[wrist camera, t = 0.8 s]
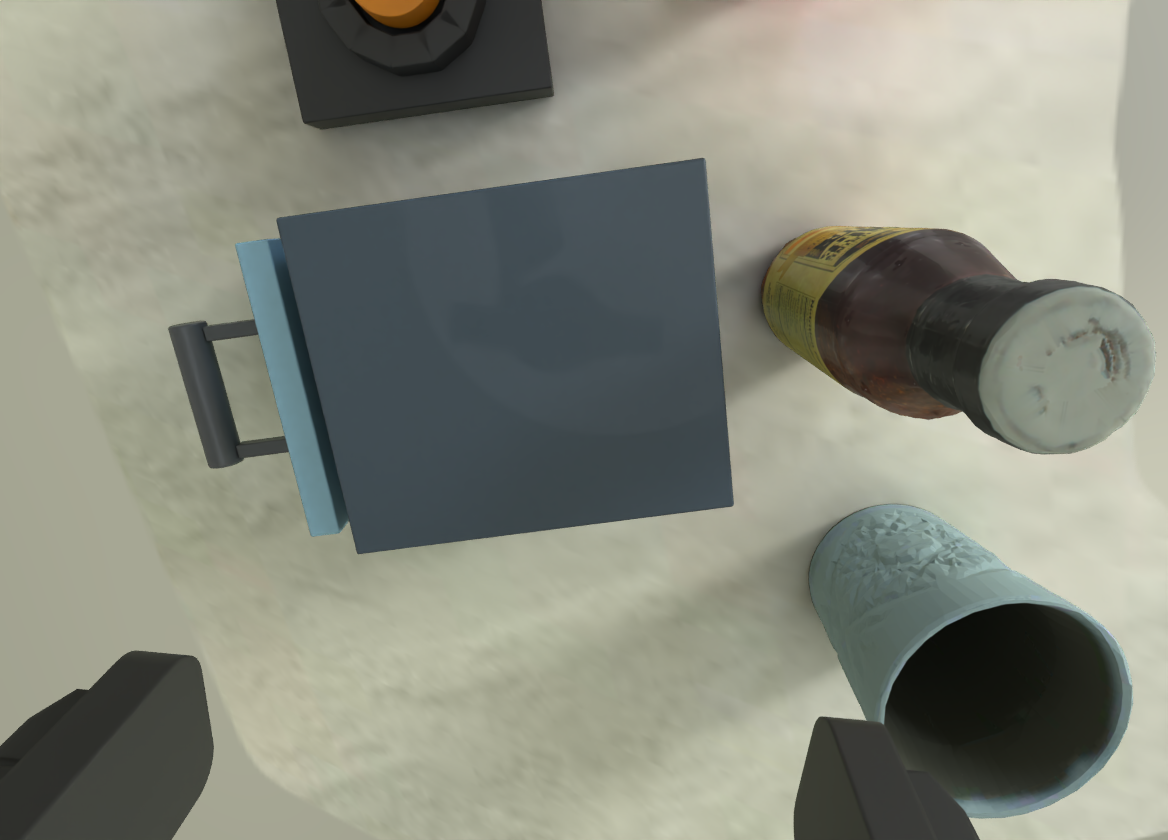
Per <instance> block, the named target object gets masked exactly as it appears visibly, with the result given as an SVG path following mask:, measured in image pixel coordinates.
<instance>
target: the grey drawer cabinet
mask: <svg viewBox="0 0 1168 840" xmlns="http://www.w3.org/2000/svg"><path fill="white" fill-rule="evenodd" d="M277 225H278V229H279V233H280V238H281V242H282V246H283V250H284V254H285V258H286V262H287V266H288V271H289V275H290V279H291V283H292V287H293V291H294V295H295V299H296V303H297V308H298V312H299V316H300V320H301V324H302V328H303V332H304V336H305V341H306V345H307V349H308V353H309V357H310V361H311V365H312V369H313V373H314V378H315V382H316V386H317V390H318V394H319V398H320V402H321V406H322V411H323V415H324V419H325V423H326V427H327V431H328V435H329V439H330V443H331V448H332V452H333V456H334V460H335V464H336V468H337V472H338V476H339V481H340V485H341V489H342V493H343V497H344V501H345V505H346V509H347V514H348V518H349V522H350V526H351V530H352V534H353V538H354V542H355V546H356V551H357V553H358V554H363V553H371V552H379V551H387V550H395V549H403V548H410V547H418V546H426V545H434V544H442V543H450V542H457V541H465V540H473V539H481V538H489V537H497V536H504V535H512V534H520V533H528V532H536V531H544V530H552V529H559V528H567V527H575V526H583V525H591V524H599V523H606V522H614V521H622V520H630V519H638V518H646V517H653V516H661V515H669V514H677V513H685V512H693V511H700V510H708V509H716V508H724V507H732V506H733V505H734V501H733V489H732V477H731V465H730V452H729V440H728V428H727V416H726V404H725V391H724V379H723V367H722V355H721V343H720V330H719V318H718V306H717V294H716V282H715V269H714V257H713V245H712V233H711V221H710V209H709V196H708V184H707V172H706V160H705V159H704V158H699V159H692V160H685V161H678V162H671V163H664V164H657V165H650V166H642V167H635V168H628V169H621V170H614V171H607V172H600V173H593V174H586V175H579V176H571V177H564V178H557V179H550V180H543V181H536V182H529V183H522V184H515V185H508V186H500V187H493V188H486V189H479V190H472V191H465V192H458V193H451V194H444V195H437V196H429V197H422V198H415V199H408V200H401V201H394V202H387V203H380V204H373V205H366V206H358V207H351V208H344V209H337V210H330V211H323V212H316V213H309V214H302V215H295V216H287V217H280V218H277Z"/></svg>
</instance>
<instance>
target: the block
mask: <svg viewBox="0 0 1168 840" xmlns="http://www.w3.org/2000/svg"><path fill="white" fill-rule="evenodd" d="M276 3H277V8H278V12H279V17H280V21H281V26H282V30H283V35H284V39H285V43H286V48H287V52H288V57H289V61H290V66H291V70H292V75H293V79H294V83H295V88H296V92H297V97H298V101H299V106H300V110H301V115H302V119H303V122H304V123H305V124H308V125H311V126H313V127H316V128H319V129H327V128H334V127H341V126H348V125H355V124H362V123H369V122H376V121H383V120H390V119H397V118H404V117H411V116H418V115H425V114H432V113H439V112H445V111H452V110H459V109H466V108H473V107H480V106H487V105H494V104H501V103H508V102H515V101H522V100H529V99H536V98H543V97H550V96H553V95H554V91H553V84H552V76H551V69H550V61H549V54H548V46H547V39H546V31H545V24H544V16H543V9H542V1H541V0H440V1H439V3H438V5H437V7H436V9H435V10H434V12H433V13H432V14H431V15H430V16H429V17H428V18H427V19H426V20H425V21H423V22H422V23H420V24H418V25H416V26H413V27H409V28H393V27H389V26H386V25H383V24H381V23H380V22H378V21H376V20H375V19H374V18H372V17H371V16H370V15H369V14H368V13H367V12H366V11H365V10H364V9H363V8H362V7H361V6H360V5H359V4H358V3H357V2H356V1H355V0H276Z"/></svg>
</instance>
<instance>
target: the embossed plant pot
mask: <svg viewBox="0 0 1168 840" xmlns="http://www.w3.org/2000/svg"><path fill="white" fill-rule="evenodd" d="M809 587H810V593H811V598H812V602H813V605H814V607H815V609H816V611H817V613H818V615H819V618H820V620H821V622H822V623H823V625H824V628H825V630H826V632H827V635H828V637H829V639H830V641H831V644H832V646H833V648H834V649H835V651H836V652H837V653H838V659H839V661H840V663H841V666H842V668H843V670H844V672H845V675H846V677H847V679H848V681H849V683H850V685H851V687H852V690H853V692H854V694H855V696H856V698H857V700H858V702H859V704H860V706H861V708H862V710H863V713H864V715H865V718H866V720H867V721H876V722H880V723H882V724H883V725H885V727H886V728H887V729H888V731H889V733H890V735H891V737H892V739H893V742H894V744H895V746H896V748H897V751H898V753H899V755H900V757H901V759H902V762H903V764H904V766H905V768H906V770H915V771H926V772H929V773H930V774H931V775H932V776H933V777H934V778H935V779H936V780H937V781H938V782H939V783H940V785H941V786H942V787H943V788H944V789H945V790H946V791H947V792H948V793H949V794H950V795H951V796H952V797H953V799H954V800H955V801H956V802H957V803H958V804H959V805H960V806H961V807H962V808H963V809H964V810H965V812H966V814H967V816H968V817H971V818H1005V817H1011V816H1016V815H1022V814H1026V813H1029V812H1032V811H1035V810H1038V809H1041V808H1044V807H1047V806H1049V805H1051V804H1053V803H1055V802H1057V801H1059V800H1060V799H1062V798H1064V797H1066V796H1068V795H1070V794H1071V793H1073V792H1075V791H1077V790H1078V789H1079V788H1081V787H1082V786H1083V785H1084V784H1086V783H1087V782H1088V781H1089V780H1090V779H1091V778H1093V777H1094V776H1095V775H1096V774H1097V773H1098V772H1099V771H1100V770H1101V769H1102V768H1103V767H1104V766H1105V764H1106V763H1107V762H1108V760H1109V759H1110V758H1111V756H1112V755H1113V753H1114V752H1115V751H1116V749H1117V748H1118V746H1119V744H1120V742H1121V740H1122V738H1123V736H1124V734H1125V732H1126V730H1127V727H1128V723H1129V718H1130V714H1131V710H1132V706H1133V690H1132V680H1131V675H1130V671H1129V666H1128V663H1127V660H1126V657H1125V655H1124V652H1123V650H1122V648H1121V647H1120V645H1119V643H1118V642H1117V640H1116V639H1115V637H1114V636H1113V635H1112V634H1111V633H1110V632H1109V631H1108V630H1107V629H1106V628H1105V627H1104V626H1103V625H1102V624H1100V623H1099V622H1098V621H1097V620H1095V619H1094V618H1093V617H1092V616H1090V615H1089V614H1088V613H1086V612H1085V611H1083V610H1081V609H1080V608H1078V607H1076V606H1075V605H1073V604H1071V603H1070V602H1068V601H1067V600H1065V599H1063V598H1061V597H1060V596H1058V595H1056V594H1054V593H1052V592H1050V591H1049V590H1047V589H1045V588H1044V587H1042V586H1040V585H1039V584H1037V583H1035V582H1033V581H1032V580H1030V579H1029V578H1028V577H1026V576H1025V575H1022V574H1020V573H1018V572H1017V571H1013V570H1011V569H1010V568H1009V567H1007V566H1006V565H1005V564H1004V563H1003V562H1002V561H1000V560H999V558H998V557H997V556H995V555H994V554H993V553H992V552H990V551H988V550H986V549H985V548H983V547H982V546H981V545H979V544H978V543H976V542H975V541H974V540H972V539H970V538H969V537H967V536H966V535H965V534H963V533H962V532H960V531H959V530H957V529H956V528H954V527H953V526H951V525H950V524H948V523H947V522H945V521H944V520H942V519H940V518H939V517H937V516H936V515H934V514H932V513H930V512H928V511H926V510H923V509H920V508H917V507H913V506H907V505H898V504H886V505H878V506H873V507H869V508H866V509H863V510H861V511H858V512H856V513H854V514H852V515H850V516H848V517H847V518H845V519H844V520H842V521H841V522H840V523H838V524H837V525H836V526H834V527H833V528H832V529H831V530H830V531H829V532H828V533H827V534H826V536H825V537H824V538H823V540H822V541H821V543H820V544H819V545H818V547H817V550H816V552H815V554H814V556H813V559H812V561H811V566H810V572H809Z"/></svg>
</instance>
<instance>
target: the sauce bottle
mask: <svg viewBox="0 0 1168 840" xmlns="http://www.w3.org/2000/svg"><path fill="white" fill-rule="evenodd" d="M761 293H762V304H763V308H764V314H765V316H766V319H767V321H768V324H769V326H770V328H771V330H772V331H773V333H774V334H775V336H776V337H777V338H778V339H779V340H780V341H781V342H782V343H783V344H785V345H786V346H787V347H788V348H790V349H791V350H793V351H794V352H796V353H797V354H798V355H800V356H801V357H803V358H804V359H805V360H807V361H808V362H810V363H811V364H812V365H814V366H815V367H817V368H818V369H819V370H821V371H822V372H824V373H825V374H827V375H828V376H829V377H831V378H832V379H834V380H835V381H836V382H838V383H839V384H841V385H842V386H844V387H845V388H847V389H848V390H850V391H851V392H853V393H855V394H857V395H860V396H862V397H864V398H866V399H868V400H869V401H871V402H872V403H874V404H876V405H877V406H879V407H881V408H884V409H886V410H888V411H890V412H893V413H896V414H899V415H903V416H909V417H913V418H922V419H927V420H929V419H934V418H941V417H945V416H951V415H954V414H957V413H959V412H962V411H963V412H964V413H965V414H966V415H967V416H968V418H969V419H970V420H971V421H972V422H973V424H974V425H975V426H976V427H978V428H979V429H980V430H982V431H983V432H984V433H986V434H988V435H990V436H992V437H994V438H997V439H998V440H1000V441H1002V442H1004V443H1006V444H1009V445H1011V446H1013V447H1015V448H1018V449H1020V450H1023V451H1027V452H1030V453H1035V454H1070V453H1075V452H1078V451H1081V450H1085V449H1087V448H1090V447H1092V446H1094V445H1096V444H1098V443H1100V442H1102V441H1104V440H1106V439H1107V438H1108V437H1109V436H1110V435H1111V434H1112V433H1113V432H1114V431H1116V430H1117V429H1119V428H1121V427H1122V426H1123V425H1124V424H1125V423H1126V422H1127V421H1128V420H1130V419H1131V418H1132V417H1133V416H1134V415H1135V414H1136V412H1137V410H1138V409H1139V407H1140V406H1141V404H1142V402H1143V401H1144V399H1145V397H1146V394H1147V392H1148V390H1149V387H1150V385H1151V383H1152V380H1153V378H1154V371H1155V360H1156V352H1155V341H1154V339H1153V336H1152V333H1151V332H1150V330H1149V329H1148V327H1147V324H1146V322H1145V320H1144V319H1143V318H1142V316H1141V315H1140V314H1139V312H1138V311H1137V310H1136V309H1135V307H1134V306H1133V304H1131V303H1130V302H1128V301H1127V300H1126V299H1124V298H1123V297H1121V296H1120V295H1118V294H1115V293H1113V292H1111V291H1109V290H1107V289H1105V288H1102V287H1097V286H1093V285H1087V284H1083V283H1079V282H1076V281H1067V280H1059V279H1044V280H1038V281H1034V282H1030V283H1029V282H1021V281H1019V280H1017V279H1016V278H1015V277H1014V276H1013V275H1012V274H1011V273H1010V272H1009V271H1008V270H1007V269H1006V268H1005V267H1004V266H1003V265H1002V264H1001V263H1000V262H999V261H998V260H997V259H996V258H995V257H994V256H993V255H992V253H991V252H990V251H989V250H988V249H987V248H986V247H985V246H983V245H982V244H981V243H980V242H978V241H977V240H975V239H974V238H972V237H970V236H967V235H965V234H963V233H960V232H956V231H952V230H947V229H929V228H899V227H846V226H829V227H823V228H819V229H815V230H811V231H809V232H807V233H805V234H803V235H801V236H800V237H798V238H795V239H793V240H791V241H789V242H788V243H787V244H785V246H784V248H783V249H782V250H781V251H780V252H779V254H778V255H777V256H776V257H775V259H774V260H773V261H772V263H771V265H770V267H769V268H768V270H767V273H766V275H765V277H764V279H763V282H762V286H761Z"/></svg>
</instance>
